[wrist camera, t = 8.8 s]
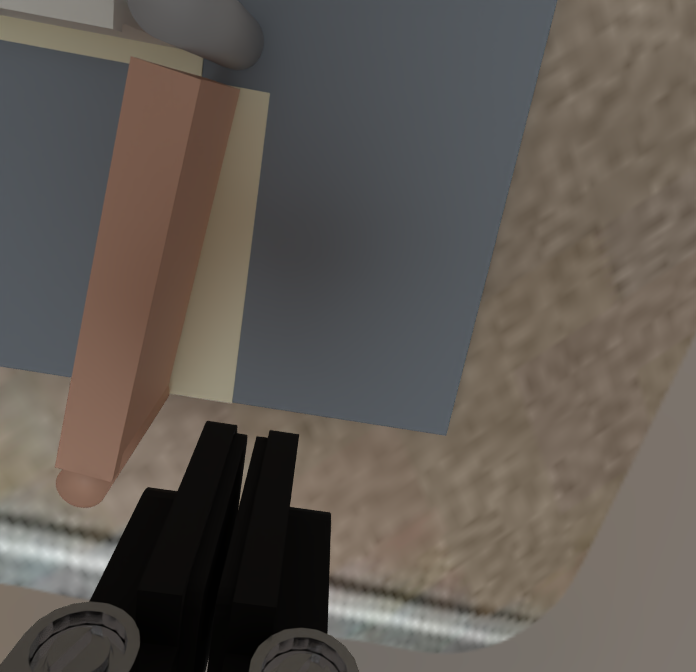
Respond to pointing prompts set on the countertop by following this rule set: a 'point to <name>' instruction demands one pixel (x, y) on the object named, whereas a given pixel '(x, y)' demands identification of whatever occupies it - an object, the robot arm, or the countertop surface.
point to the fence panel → (141, 269)
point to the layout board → (280, 188)
